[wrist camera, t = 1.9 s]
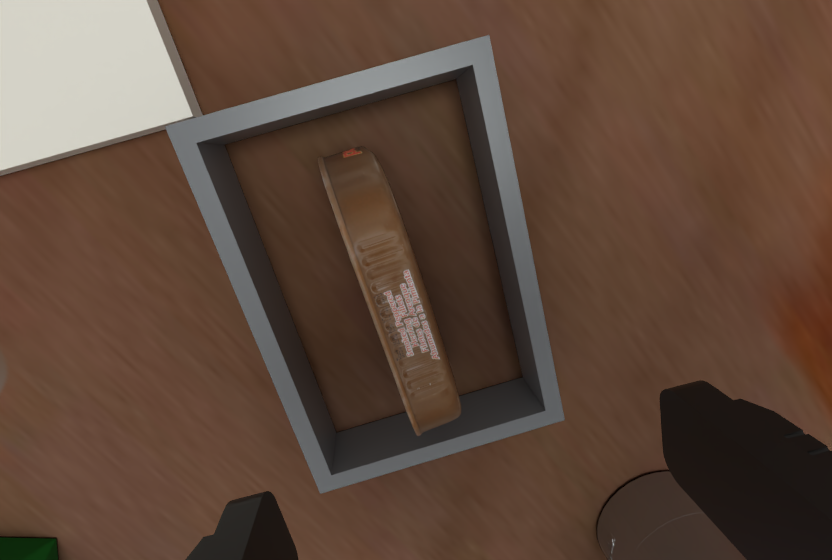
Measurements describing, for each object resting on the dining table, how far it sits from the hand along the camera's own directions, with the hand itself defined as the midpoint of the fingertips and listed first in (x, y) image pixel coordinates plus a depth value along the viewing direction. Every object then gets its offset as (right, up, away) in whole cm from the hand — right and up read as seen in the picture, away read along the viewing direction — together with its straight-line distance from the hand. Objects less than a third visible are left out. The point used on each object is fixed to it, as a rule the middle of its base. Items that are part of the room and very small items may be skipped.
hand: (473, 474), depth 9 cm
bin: (-3, +4, +18) cm, 18 cm away
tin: (-3, +4, +18) cm, 19 cm away
